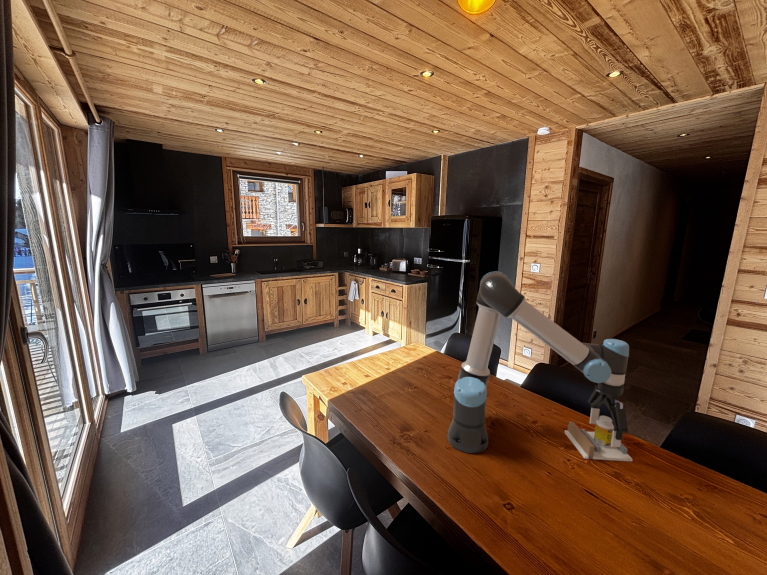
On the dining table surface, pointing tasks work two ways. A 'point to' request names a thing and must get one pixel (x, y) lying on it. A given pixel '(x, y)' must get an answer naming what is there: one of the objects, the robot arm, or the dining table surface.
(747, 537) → the dining table surface
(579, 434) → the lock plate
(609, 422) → the supplement bottle
